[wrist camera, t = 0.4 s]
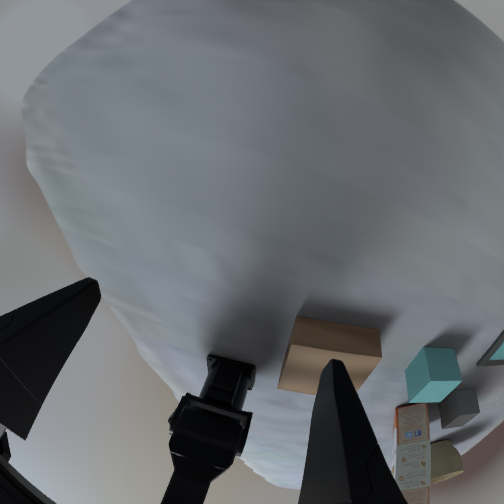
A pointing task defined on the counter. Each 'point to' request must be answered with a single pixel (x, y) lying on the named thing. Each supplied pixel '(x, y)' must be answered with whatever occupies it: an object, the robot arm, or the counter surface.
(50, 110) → the counter surface
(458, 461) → the planter bowl
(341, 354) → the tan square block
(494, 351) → the tile
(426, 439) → the cracker box
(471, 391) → the charcoal cube
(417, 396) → the teal cube
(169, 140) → the counter surface
